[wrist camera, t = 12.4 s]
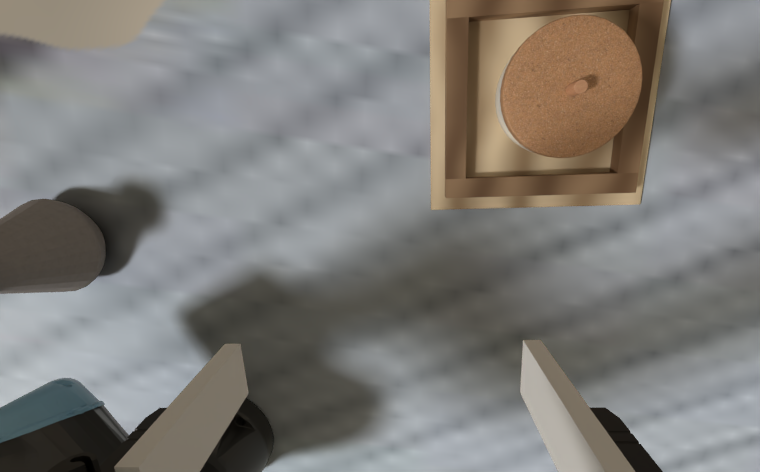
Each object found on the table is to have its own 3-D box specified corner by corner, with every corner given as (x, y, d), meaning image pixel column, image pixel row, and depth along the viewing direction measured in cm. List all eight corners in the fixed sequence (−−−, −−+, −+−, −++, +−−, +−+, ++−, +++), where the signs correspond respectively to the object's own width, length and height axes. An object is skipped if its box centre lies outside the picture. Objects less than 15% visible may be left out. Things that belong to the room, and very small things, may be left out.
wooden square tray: (431, 209, 39) (431, 212, 38) (429, -15, 34) (430, -24, 32) (638, 203, 37) (649, 206, 36) (674, -36, 32) (689, -47, 30)
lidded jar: (473, 62, 35) (495, 34, 26) (585, 25, 33) (650, -18, 24) (495, 167, 37) (522, 175, 28) (600, 137, 36) (664, 136, 27)
